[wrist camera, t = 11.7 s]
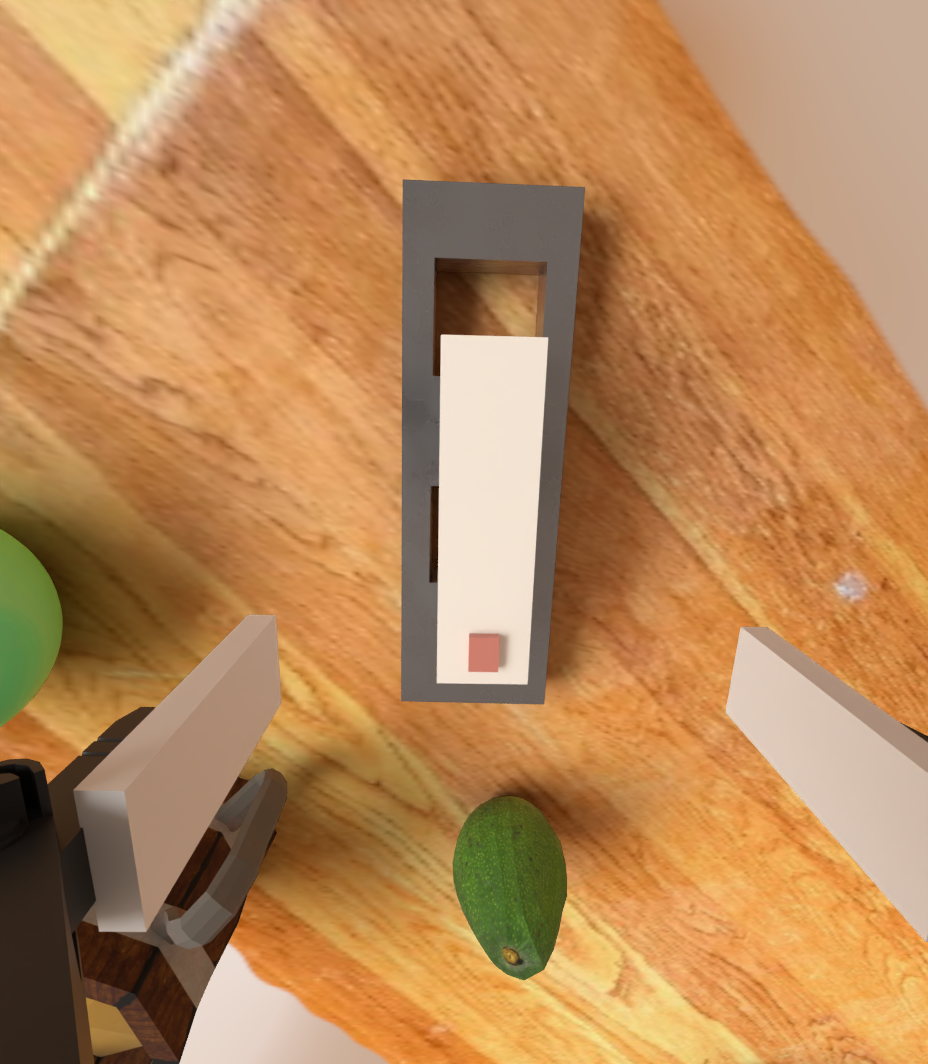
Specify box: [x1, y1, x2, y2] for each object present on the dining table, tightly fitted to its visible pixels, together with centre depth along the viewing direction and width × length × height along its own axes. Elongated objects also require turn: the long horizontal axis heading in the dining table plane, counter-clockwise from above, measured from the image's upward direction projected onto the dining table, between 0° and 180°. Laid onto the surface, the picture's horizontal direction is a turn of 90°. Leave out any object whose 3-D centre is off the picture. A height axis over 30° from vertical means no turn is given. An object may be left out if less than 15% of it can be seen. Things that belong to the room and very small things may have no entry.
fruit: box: [453, 796, 567, 980], centre depth 36 cm, size 8×8×12 cm
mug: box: [76, 768, 287, 1064], centre depth 34 cm, size 20×14×15 cm
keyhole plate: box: [401, 180, 585, 704], centre depth 33 cm, size 32×10×3 cm, turn 178°
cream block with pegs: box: [437, 335, 548, 685], centre depth 30 cm, size 18×5×10 cm, turn 179°
